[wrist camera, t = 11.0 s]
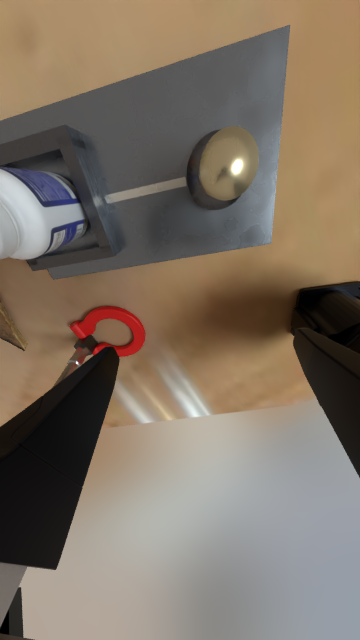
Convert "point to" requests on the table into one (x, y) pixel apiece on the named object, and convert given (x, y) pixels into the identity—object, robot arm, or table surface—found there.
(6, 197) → the pill bottle
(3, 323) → the shard
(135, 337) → the tow hook
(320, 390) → the robot arm
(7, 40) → the table surface
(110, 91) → the metal plate with knob
